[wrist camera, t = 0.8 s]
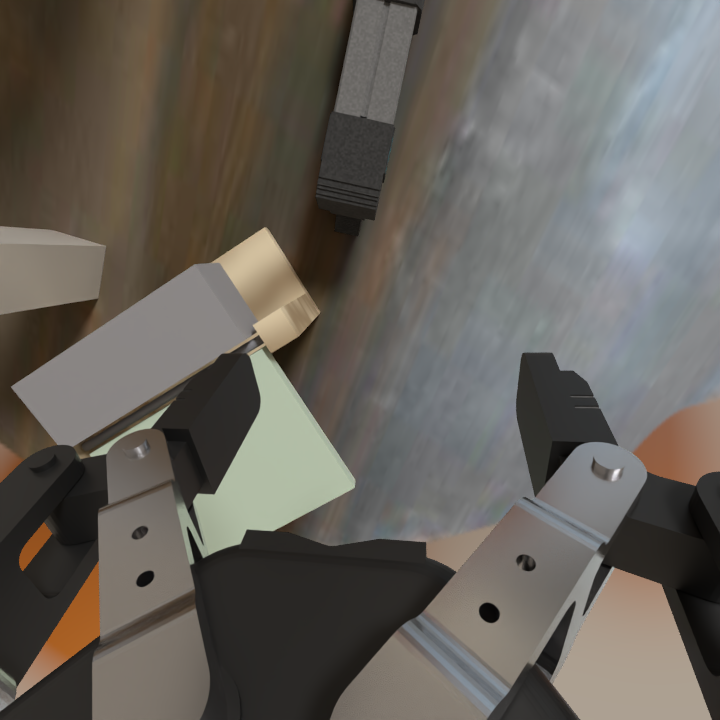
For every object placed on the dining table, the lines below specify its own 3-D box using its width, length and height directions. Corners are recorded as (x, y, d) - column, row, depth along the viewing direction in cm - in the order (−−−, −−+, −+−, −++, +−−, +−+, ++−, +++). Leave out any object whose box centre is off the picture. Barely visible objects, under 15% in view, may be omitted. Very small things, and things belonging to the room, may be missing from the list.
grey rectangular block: (46, 283, 37) (-104, 296, 25) (52, 230, 36) (-102, 218, 24) (98, 298, 37) (-28, 319, 26) (106, 246, 36) (-22, 242, 25)
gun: (318, 235, 35) (308, 170, 25) (368, 15, 37) (377, -125, 27) (372, 247, 35) (383, 187, 25) (419, 27, 37) (447, -109, 27)
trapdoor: (54, 371, 30) (7, 389, 27) (223, 260, 28) (199, 261, 24) (197, 555, 34) (174, 594, 30) (359, 467, 31) (357, 497, 28)
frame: (89, 346, 38) (-22, 381, 28) (267, 228, 35) (221, 217, 25) (145, 419, 40) (60, 481, 29) (320, 312, 37) (298, 336, 26)
